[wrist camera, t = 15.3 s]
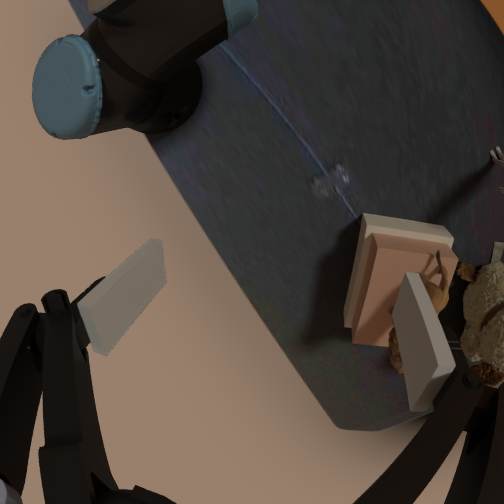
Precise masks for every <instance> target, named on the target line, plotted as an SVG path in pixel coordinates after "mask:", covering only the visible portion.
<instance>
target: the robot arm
mask: <svg viewBox="0 0 504 504" xmlns="http://www.w3.org/2000/svg"><path fill="white" fill-rule="evenodd" d="M88 11H89V12H90V13H91V14H93V15H95V16H96V17H97V18H96V19H95V20H94V21H93V22H92V23H91V25H89V26H88V28H87V29H86V30H85V31H84V32H83V33H82V34H81V35H80V36H79V35H73V34H71V35H67V36H65V37H62V38H58V39H56V40H55V41H53V42H52V43H51V44H50V45H49V46H48V47H47V48H46V49H45V50H44V52H43V53H42V55H41V57H40V59H39V61H38V63H37V65H36V68H35V72H34V77H33V82H32V83H33V84H32V88H33V90H32V100H33V106H34V111H35V114H36V116H37V119H38V121H39V123H40V124H41V126H42V127H43V128H44V130H45V131H46V132H47V133H48V134H50V135H51V136H53V137H55V138H58V139H63V140H67V139H82V138H86V137H88V136H89V135H94V134H99V133H103V132H107V131H112V130H117V129H122V128H127V127H128V128H131V129H133V130H136V131H138V132H141V133H147V134H156V133H162V132H167V131H170V130H173V129H175V128H177V127H178V126H180V125H181V124H183V123H184V122H185V121H186V120H187V119H188V118H189V117H190V116H191V115H192V113H193V112H194V110H195V109H196V107H197V105H198V102H199V99H200V96H201V92H202V76H201V71H200V68H199V66H198V64H197V62H196V59H198V58H199V57H201V56H202V55H203V54H205V53H206V52H208V51H209V50H211V49H212V48H214V47H215V46H217V45H218V44H220V43H221V42H223V41H224V40H227V41H228V40H230V39H231V38H232V36H233V35H234V34H235V33H237V32H238V31H240V30H241V29H243V28H244V27H246V26H247V25H249V24H250V23H252V22H253V21H254V20H255V18H256V16H257V14H258V4H257V1H256V0H88ZM166 283H167V280H166V271H165V264H164V254H163V245H162V240H157V239H150V240H148V241H147V242H146V243H145V244H143V245H142V246H141V247H140V248H139V249H138V250H136V251H135V252H134V253H133V254H132V255H131V256H130V257H128V258H127V259H126V260H125V261H124V262H123V263H121V264H120V265H119V266H118V267H117V268H116V269H114V271H112V272H111V273H110V274H109V275H108V276H107V277H105V276H104V277H102V278H100V279H98V280H96V281H95V282H94V283H93V284H91V286H90V287H88V288H87V289H86V290H85V292H82V294H80V295H79V296H78V297H77V298H76V299H75V300H74V301H73V302H72V303H70V302H69V298H68V295H67V292H66V291H65V290H62V289H57V290H52V291H50V292H48V293H46V294H45V295H44V296H43V297H42V299H41V301H42V304H43V307H44V310H45V312H46V313H38V311H37V308H36V306H35V305H34V304H31V303H28V304H23V305H21V306H20V307H19V308H17V309H16V310H15V311H14V313H13V315H12V317H11V319H10V321H9V323H8V325H7V327H6V328H5V330H4V332H3V335H2V336H1V338H0V504H23V503H22V499H21V495H22V491H23V488H24V484H25V479H26V473H27V466H28V459H29V452H30V446H31V441H32V435H33V430H34V425H35V420H36V416H37V411H38V407H39V403H40V398H41V394H42V391H43V422H44V437H45V445H44V446H43V447H40V448H39V452H38V454H39V455H38V456H39V466H40V474H41V480H42V488H43V493H44V499H45V504H176V503H175V502H173V501H171V500H170V499H168V498H167V497H165V496H163V495H160V494H157V493H155V492H152V491H149V490H146V489H144V488H142V487H139V486H137V485H135V486H134V488H133V490H126V489H119V488H118V486H117V484H116V482H115V480H114V478H113V476H112V474H111V471H110V467H109V464H108V460H107V456H106V452H105V448H104V445H103V440H102V435H101V431H100V426H99V422H98V416H97V411H96V405H95V399H94V393H93V387H92V380H91V374H90V365H89V357H88V351H87V349H86V347H87V346H88V344H89V343H91V345H92V348H93V350H94V352H96V353H99V354H102V355H104V356H107V355H108V354H109V353H110V351H111V350H112V349H113V347H114V346H115V345H116V344H117V342H118V341H119V340H120V339H121V337H122V336H123V335H124V334H125V332H126V331H127V330H128V329H129V327H130V326H131V325H132V324H133V322H134V321H135V320H136V319H137V318H138V316H139V315H140V314H141V313H142V311H143V310H144V309H145V308H146V307H147V305H148V304H149V303H150V302H151V301H152V299H153V298H154V297H155V296H156V294H157V293H158V292H159V291H160V290H161V288H162V287H163V286H164V285H165V284H166ZM392 318H393V322H394V326H395V330H396V335H397V340H398V344H399V349H400V354H401V359H402V364H403V370H404V375H405V381H406V387H407V393H408V399H409V406H410V411H427V410H428V408H429V407H430V405H431V404H432V402H433V407H434V411H433V412H432V414H431V415H430V417H429V418H428V419H427V421H426V422H425V423H424V424H423V426H422V427H421V429H420V430H419V431H418V433H417V434H416V435H415V436H414V438H413V439H412V441H411V442H410V443H409V444H408V445H407V446H406V448H405V449H404V450H403V451H402V453H401V454H400V455H399V456H398V457H397V458H396V460H395V461H394V462H393V463H392V464H391V465H390V466H389V467H388V468H387V470H386V471H385V472H384V473H383V474H382V475H381V476H380V477H379V478H378V479H377V480H376V481H375V482H374V483H373V484H372V485H371V486H370V487H369V488H368V489H367V490H366V491H365V492H364V493H363V494H362V495H361V496H360V497H359V498H358V499H357V500H356V501H355V502H354V503H353V504H413V503H414V502H415V500H416V499H417V498H418V496H419V495H420V494H421V493H422V491H423V490H424V488H425V487H426V486H427V485H428V483H429V482H430V481H431V479H432V478H433V476H434V475H435V474H436V472H437V471H438V469H439V468H440V466H441V465H442V463H443V462H444V460H445V458H446V457H447V456H448V454H449V452H450V451H451V449H452V448H453V446H454V444H455V443H456V441H457V439H458V438H459V436H460V434H461V433H462V431H466V432H467V435H466V439H465V442H464V446H463V450H462V453H461V457H460V460H459V463H458V466H457V469H456V473H455V475H454V478H453V482H452V484H451V487H450V490H449V492H448V495H447V497H446V500H445V502H444V504H504V382H503V383H502V384H501V385H500V386H499V387H498V389H497V388H493V387H490V386H486V385H484V382H483V380H482V378H481V377H480V376H479V375H478V374H477V373H476V372H473V371H471V370H470V368H469V366H468V363H467V360H466V358H465V355H464V352H463V350H462V349H461V348H462V347H461V345H460V343H459V340H458V338H457V335H456V333H455V332H454V331H453V330H452V329H451V327H450V326H445V325H441V324H440V321H439V319H438V317H437V314H436V312H435V309H434V307H433V305H432V302H431V300H430V298H429V295H428V293H427V291H426V289H425V286H424V284H423V282H422V280H421V278H420V276H419V274H418V273H413V272H406V271H405V274H404V277H403V281H402V284H401V287H400V291H399V294H398V297H397V300H396V303H395V306H394V309H393V312H392Z"/></svg>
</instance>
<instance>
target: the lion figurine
mask: <svg viewBox="0 0 504 504" xmlns="http://www.w3.org/2000/svg"><path fill="white" fill-rule="evenodd" d="M436 259H437V263H438V265H439V267H438V268H437V272H438V274H442V278H441V281H440V284H439V286H437V285H436V284H434V283H433V282H431V281H429V280H428V279H427V275H426V274H424V273H419V272H414V273H418V274H419V276H420V278H421V280H422V282H423V284H424V286H425V289H426V291H427V293H428V295H429V298H430V300H431V302H432V305H433V307H434V309H435V312H436V314H437V313H439V312H440V311H442V310H443V309H444V308H445V306H446V305H447V302H448V300H449V294H448V279H447V278H448V272H447V270H446V267H445V266H443V265H442V262H441V259H440V251H439V250H437V253H436ZM393 309H394V307H391V308H389V310H388V311H389V313H390V315H392V312H393ZM392 322H393V318H392ZM393 325H394V322H393ZM388 343H389V347H388V348H389V357H390V359H391V364H392V365H393V366H394V368H396V369H397V370H398V372H399V373H402V372H403V373H404V370H403V364H402V359H401V354H400V349H399V344H398V340H397V335H396V330H395V326H394V327H393V328H392V330H391V331H390V332H389V339H388Z"/></svg>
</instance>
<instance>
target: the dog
mask: <svg viewBox="0 0 504 504" xmlns="http://www.w3.org/2000/svg"><path fill="white" fill-rule="evenodd" d="M503 248H504V243H503V242H494V249H493V254H492V259H491V263H490V264H489V265H484V266H482V268H481V269H480V270H479V271H478V274H476V272H477V270H476V269H475V268H474V266H473V267H472V265H471V264H470V263H465V262H460V263H459V264H458V266H457V267H458V269H457V270H456V271H457V272H456V273H457V275H460V277H461V278H462V279H464V280H466V281H469V282H470V284H469V285H468V286H467V289H466V290H465V293H464V296H463V303H464V305H463V307H464V308H463V309H464V310H463V311H464V318H465V319H466V325H465V327H464V331H463V333H462V335H461V338H460V342H461V347H462V348H461V349H462V350H463V352H464V355H466V356H467V357H468V358H469V360H470V361H471V362H472V361H476V360H478V361H479V360H480V359H481V361H483V363H482V364H479V365H474V366H471V368H470V370H471V371H473V372H476V373H477V374H478V375H479V376H480V377H481V378H482V380H483V382H484V384H486V385H490V384H491V386H495V385H497V384H498V383H499V382H502V380H503V378H504V264H502V262H499V261H500V258H501V256H502V252H503Z"/></svg>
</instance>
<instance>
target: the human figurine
mask: <svg viewBox="0 0 504 504" xmlns="http://www.w3.org/2000/svg"><path fill="white" fill-rule="evenodd" d="M496 151H497V153H498V155H499V158H501V159H502V160H504V154H502V153H501V151H500V148H499V147H498V146H497V147H496ZM490 154H491V155H492V158H493V161H494V162H495V163H496V164H497V163H499V164H501V165H502V166H503V167H504V161H501V160H499V159H497V157H496V156H495V154H494V151H493V150H491V151H490ZM500 189H504V188H501V187H500ZM500 191H504V190H500ZM503 193H504V192H503ZM503 193H502V194H503Z"/></svg>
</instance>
